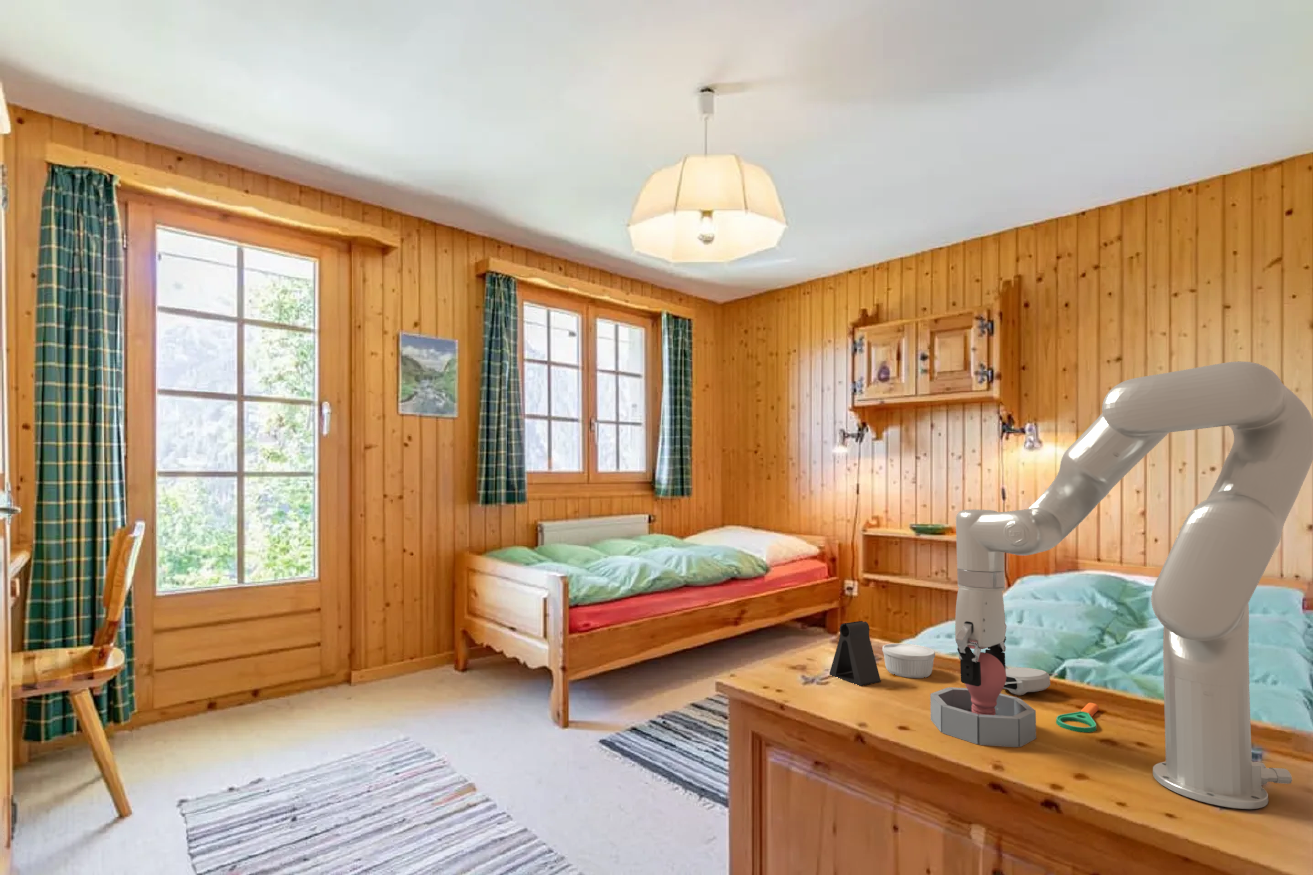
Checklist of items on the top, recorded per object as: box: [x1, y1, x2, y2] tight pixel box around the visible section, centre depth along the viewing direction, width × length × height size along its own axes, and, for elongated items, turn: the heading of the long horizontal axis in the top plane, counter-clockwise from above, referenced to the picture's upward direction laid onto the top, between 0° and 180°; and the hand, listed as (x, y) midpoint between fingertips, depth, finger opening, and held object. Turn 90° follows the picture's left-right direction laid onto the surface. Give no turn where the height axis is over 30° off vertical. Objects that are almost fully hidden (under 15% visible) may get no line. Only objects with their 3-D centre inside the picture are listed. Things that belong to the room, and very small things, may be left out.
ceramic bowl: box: [930, 686, 1037, 748], centre depth 116 cm, size 15×15×4 cm
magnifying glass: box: [1055, 702, 1100, 733], centre depth 121 cm, size 15×6×2 cm, turn 134°
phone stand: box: [829, 620, 881, 687], centre depth 144 cm, size 9×6×12 cm, turn 31°
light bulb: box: [964, 651, 1006, 715], centre depth 117 cm, size 7×7×12 cm
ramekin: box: [881, 643, 936, 679], centre depth 150 cm, size 11×11×5 cm
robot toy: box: [1003, 665, 1059, 696], centre depth 140 cm, size 12×4×15 cm
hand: (983, 678), depth 116 cm, fingers open, 9 cm apart
